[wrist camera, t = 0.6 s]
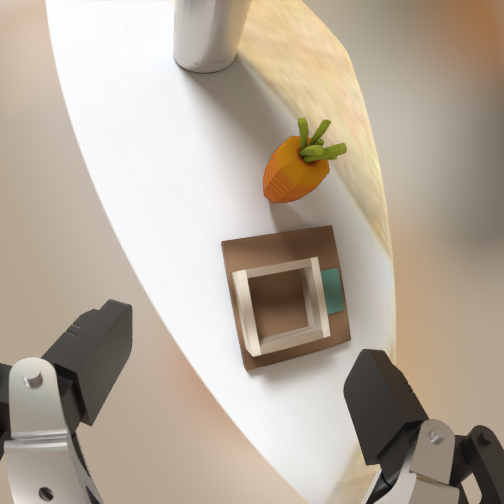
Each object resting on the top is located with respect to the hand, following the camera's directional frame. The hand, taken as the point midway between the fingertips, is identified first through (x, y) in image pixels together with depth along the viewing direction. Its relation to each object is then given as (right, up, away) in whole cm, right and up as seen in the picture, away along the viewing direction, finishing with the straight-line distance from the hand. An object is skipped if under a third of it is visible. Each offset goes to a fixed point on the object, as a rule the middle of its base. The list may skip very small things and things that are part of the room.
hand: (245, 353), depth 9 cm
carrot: (+2, +10, +24) cm, 26 cm away
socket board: (+4, -2, +23) cm, 23 cm away
